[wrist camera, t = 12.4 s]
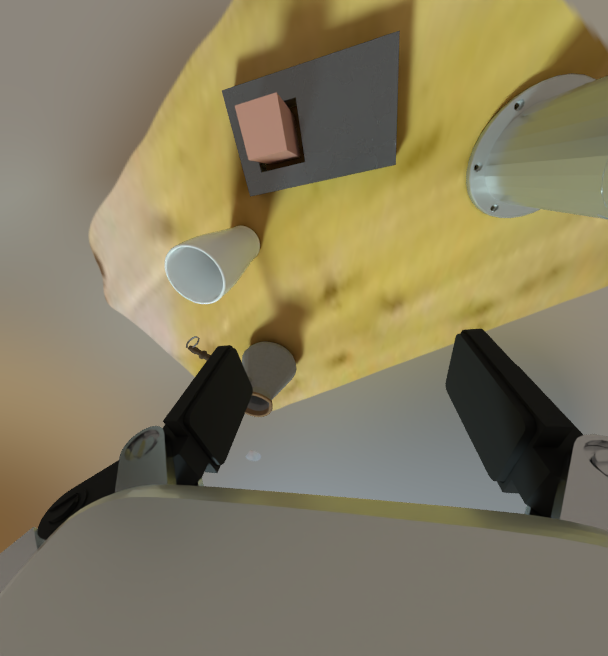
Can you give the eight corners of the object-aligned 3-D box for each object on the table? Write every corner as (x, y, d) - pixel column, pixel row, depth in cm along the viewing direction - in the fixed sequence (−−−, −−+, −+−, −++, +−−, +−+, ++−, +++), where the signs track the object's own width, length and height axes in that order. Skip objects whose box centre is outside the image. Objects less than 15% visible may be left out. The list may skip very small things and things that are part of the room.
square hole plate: (393, 46, 23) (399, 30, 20) (390, 165, 28) (395, 164, 26) (232, 98, 27) (221, 90, 24) (257, 195, 32) (250, 196, 29)
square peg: (294, 115, 27) (276, 92, 19) (300, 157, 29) (286, 150, 21) (263, 124, 28) (234, 105, 20) (271, 164, 30) (248, 160, 22)
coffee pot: (307, 368, 49) (296, 432, 37) (263, 379, 53) (240, 440, 41) (257, 284, 40) (219, 332, 27) (208, 305, 44) (156, 355, 31)
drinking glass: (234, 209, 33) (172, 228, 21) (273, 237, 35) (236, 270, 22) (218, 247, 37) (156, 282, 25) (254, 271, 38) (212, 315, 26)
